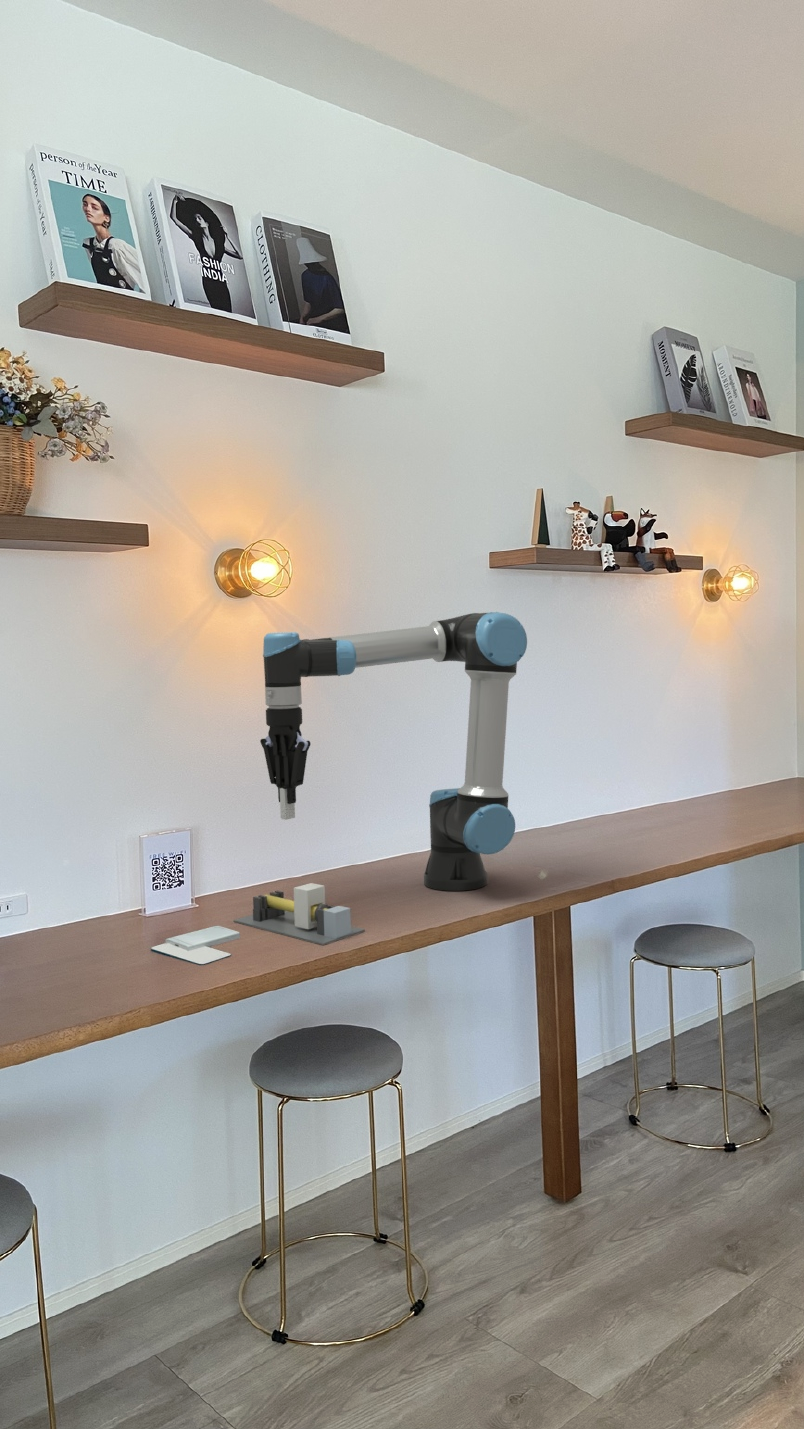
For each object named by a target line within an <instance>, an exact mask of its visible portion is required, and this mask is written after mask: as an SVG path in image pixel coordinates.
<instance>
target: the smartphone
mask: <svg viewBox="0 0 804 1429" xmlns="http://www.w3.org/2000/svg"><path fill="white" fill-rule="evenodd" d="M150 952H153V953H157V954H160V955H162V956H166V957H169V958H173V959H177V960H180V961H184V962H187V963H190V964H193V965H197V966H206V965H209V964H212V963H214V962H217V961H218V962H219V961H220V960H223V959H227V958H230V957H231V956H232V953H230V952H228V951H225V950H220V949H217V948H213V947H212V946H210V947H207V946H204V947H201V948H197V949H193V950H190V951H187V950H185V949H182V948H179V947H177V946H174V945H172V944H169V943H165V942H164V943H160V944H157V945H153V946H151V947H150Z"/></svg>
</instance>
